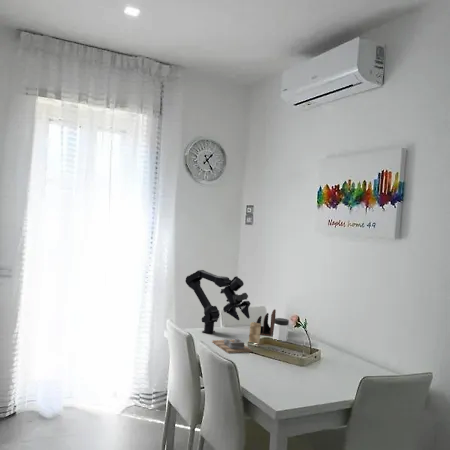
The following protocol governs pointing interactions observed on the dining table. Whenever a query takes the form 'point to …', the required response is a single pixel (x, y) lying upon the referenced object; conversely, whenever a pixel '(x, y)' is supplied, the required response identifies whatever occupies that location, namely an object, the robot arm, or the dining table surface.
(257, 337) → the tan wooden block
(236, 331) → the dining table surface
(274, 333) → the jar
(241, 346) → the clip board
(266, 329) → the letter holder
